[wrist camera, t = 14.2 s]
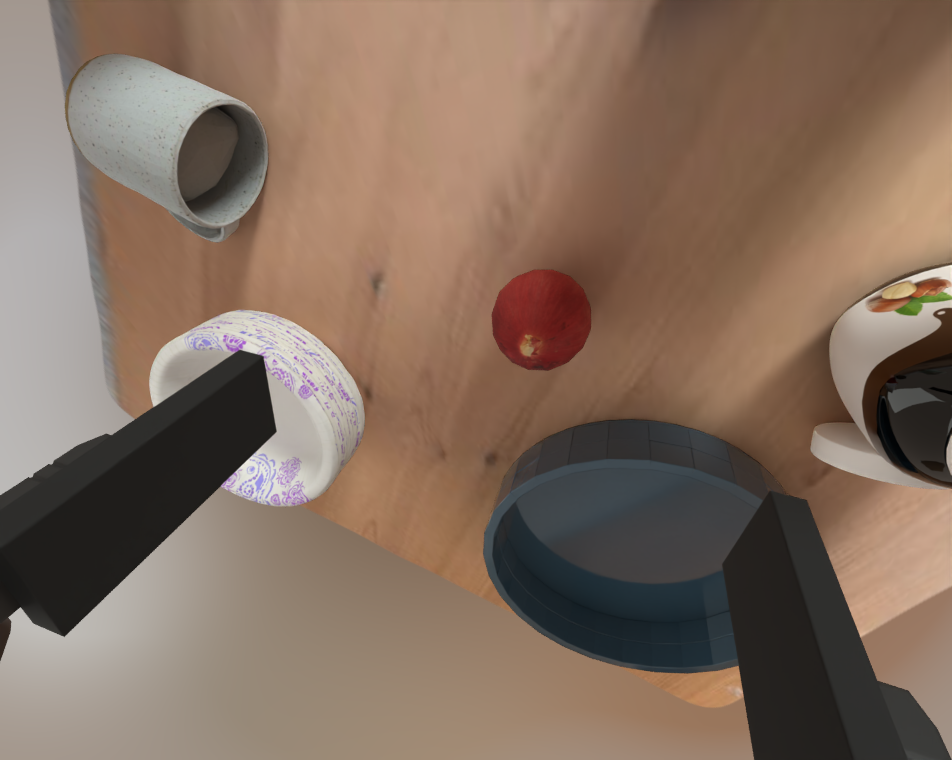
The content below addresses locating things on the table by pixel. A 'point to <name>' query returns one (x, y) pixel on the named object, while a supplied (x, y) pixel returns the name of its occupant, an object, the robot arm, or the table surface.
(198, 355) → the paper bowls
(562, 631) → the bowl
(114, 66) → the ceramic mug
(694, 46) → the table surface
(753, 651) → the robot arm
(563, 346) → the onion
